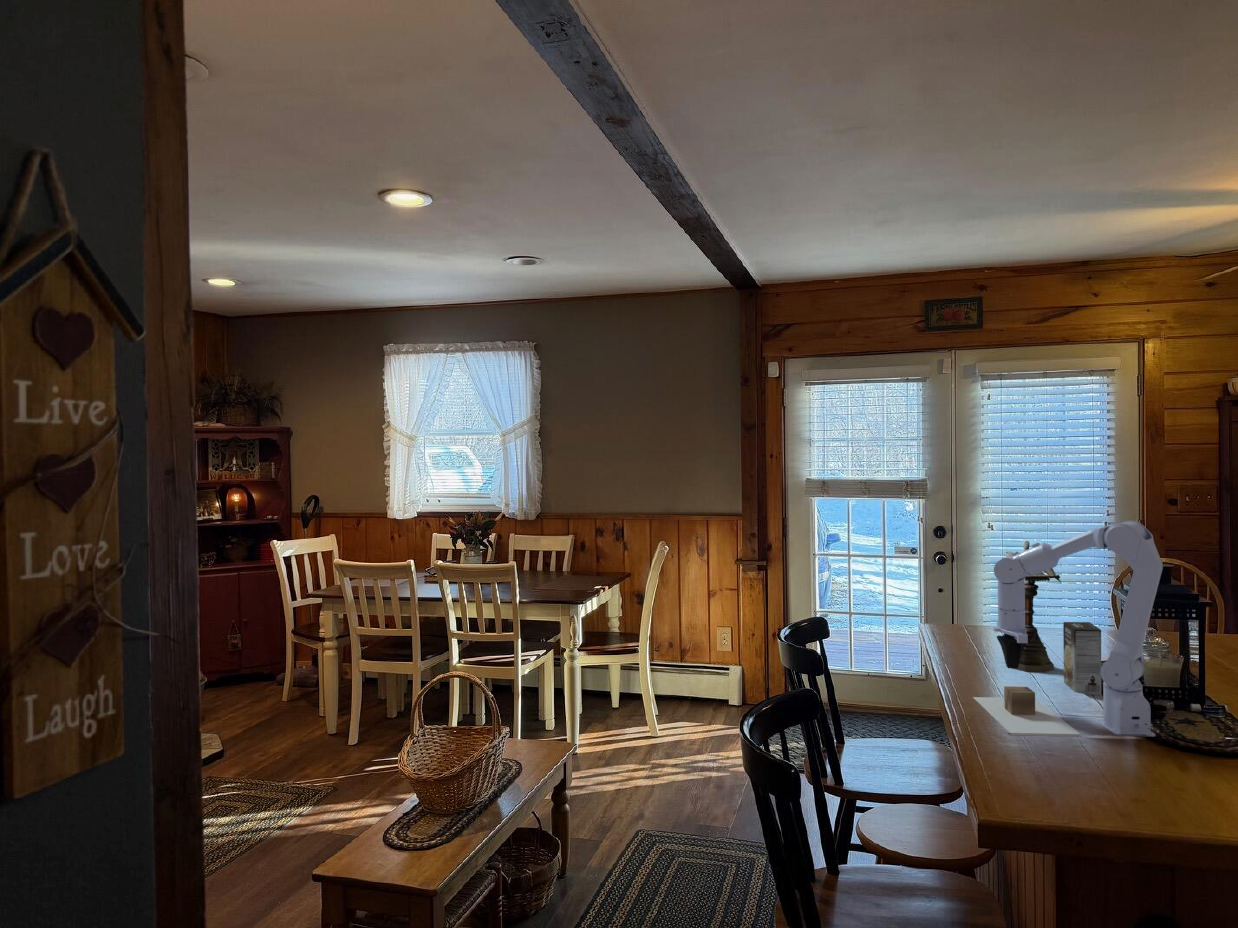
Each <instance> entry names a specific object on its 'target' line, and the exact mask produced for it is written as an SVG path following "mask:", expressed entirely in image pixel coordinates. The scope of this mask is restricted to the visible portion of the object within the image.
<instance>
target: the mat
mask: <svg viewBox="0 0 1238 928" xmlns="http://www.w3.org/2000/svg"><path fill="white" fill-rule="evenodd" d="M972 698H973V699H974V700H975V701H976V702H977V703H978V704H979V705H980V706H981V707H982V708H983V709H984V710H985V711H987V712H988V714H990V715H991V716H992V718H994V719H995V720H996V721H997V722H998V723H999V724H1000V725H1001V726H1002V727H1004V729H1005V730H1006V731H1008V732H1007V734H1008V735H1009V736H1011V737H1012V736H1013V737H1015V736H1016V737H1060V738H1061V737H1066V738H1081V737H1082V736H1081V733H1080V732H1078V731H1077V730H1076V729H1075V728H1074V727H1072V726H1071V725H1069V724H1068V723H1067V722H1066V721H1064V719H1062V718H1061V717H1059V716H1058V715H1057V714H1055V712H1053V711H1051V710H1050V709H1049V708H1048V707H1046V706H1045V705H1044V704H1043V703H1042V702H1040V701H1039V700H1037V699H1036V698H1035V715H1012V714H1010V713H1009V712H1008V711H1007V710H1006V709H1005V708H1004V697H992V696H990V697H989V696H986V697H985V696H983V697H981V696H972Z"/></svg>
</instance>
